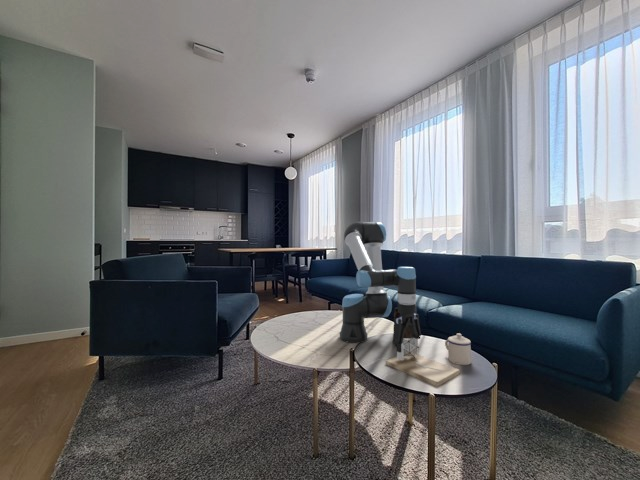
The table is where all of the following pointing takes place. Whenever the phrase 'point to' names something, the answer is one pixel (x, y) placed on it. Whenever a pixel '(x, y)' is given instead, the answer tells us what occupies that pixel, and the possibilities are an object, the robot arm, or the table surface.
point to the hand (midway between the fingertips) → (407, 356)
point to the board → (424, 369)
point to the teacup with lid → (459, 349)
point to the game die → (409, 347)
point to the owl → (407, 332)
